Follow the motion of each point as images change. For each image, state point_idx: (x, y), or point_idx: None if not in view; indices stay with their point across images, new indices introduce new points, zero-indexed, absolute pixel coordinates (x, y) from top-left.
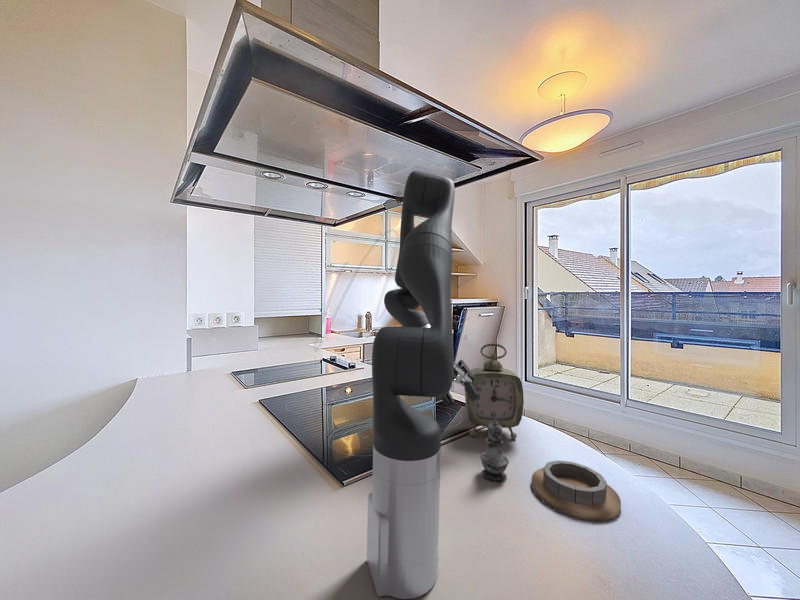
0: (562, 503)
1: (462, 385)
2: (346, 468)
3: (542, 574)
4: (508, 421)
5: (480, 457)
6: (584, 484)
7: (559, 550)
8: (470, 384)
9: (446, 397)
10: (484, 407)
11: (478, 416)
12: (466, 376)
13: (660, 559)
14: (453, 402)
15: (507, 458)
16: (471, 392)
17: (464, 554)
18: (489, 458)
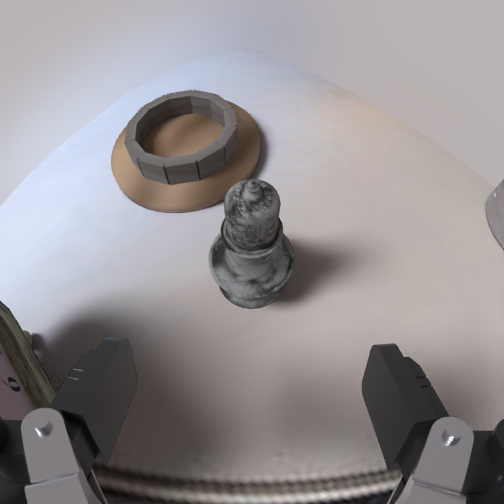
0: (251, 135)
1: (97, 483)
2: None
3: (389, 127)
4: (14, 332)
5: (282, 285)
6: (157, 137)
7: (340, 124)
8: (80, 404)
9: (425, 383)
10: (12, 414)
11: None
12: (35, 464)
13: (250, 71)
14: (389, 344)
15: (220, 233)
16: (115, 389)
17: (452, 192)
18: (279, 252)
